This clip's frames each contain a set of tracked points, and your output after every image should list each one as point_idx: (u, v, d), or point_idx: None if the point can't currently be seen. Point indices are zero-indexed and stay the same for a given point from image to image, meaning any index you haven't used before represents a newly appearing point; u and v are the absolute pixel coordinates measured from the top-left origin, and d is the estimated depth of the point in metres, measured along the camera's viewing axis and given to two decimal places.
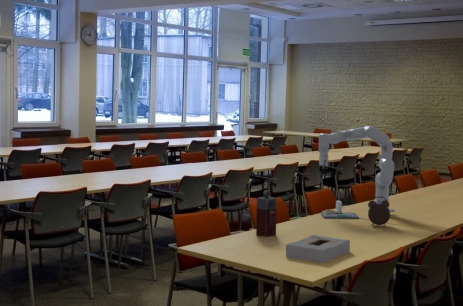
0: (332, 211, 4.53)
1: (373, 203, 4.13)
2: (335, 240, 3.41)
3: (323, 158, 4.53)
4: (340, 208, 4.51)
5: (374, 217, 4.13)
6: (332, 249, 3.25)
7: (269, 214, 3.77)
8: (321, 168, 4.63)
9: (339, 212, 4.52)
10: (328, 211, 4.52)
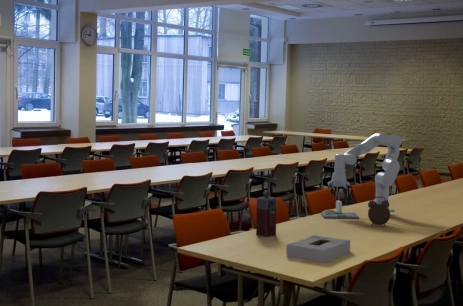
0: (332, 211, 4.53)
1: (373, 203, 4.13)
2: (336, 240, 3.41)
3: None
4: (340, 208, 4.51)
5: (374, 217, 4.13)
6: (333, 249, 3.25)
7: (269, 214, 3.77)
8: None
9: (339, 212, 4.52)
10: (328, 211, 4.52)
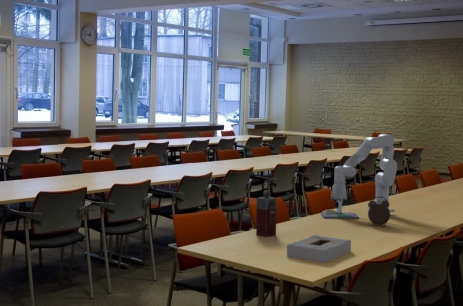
0: (332, 211, 4.53)
1: (373, 203, 4.13)
2: (336, 240, 3.41)
3: None
4: (340, 208, 4.51)
5: (374, 217, 4.13)
6: (333, 249, 3.25)
7: (269, 214, 3.77)
8: None
9: (339, 212, 4.52)
10: (328, 211, 4.52)
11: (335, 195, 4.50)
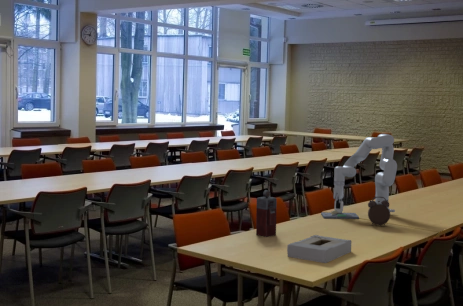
0: (335, 212, 4.50)
1: (373, 203, 4.13)
2: (337, 240, 3.41)
3: None
4: (342, 208, 4.52)
5: (374, 217, 4.13)
6: (334, 249, 3.25)
7: (269, 214, 3.77)
8: None
9: (341, 212, 4.53)
10: (333, 212, 4.48)
11: (340, 196, 4.49)
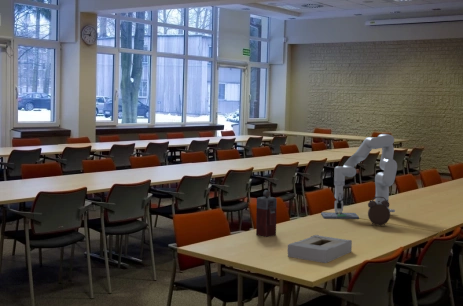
0: (339, 212, 4.49)
1: (373, 203, 4.13)
2: (337, 240, 3.41)
3: None
4: (342, 207, 4.54)
5: (374, 217, 4.13)
6: (334, 249, 3.25)
7: (269, 214, 3.77)
8: None
9: None
10: (339, 213, 4.46)
11: (342, 195, 4.50)
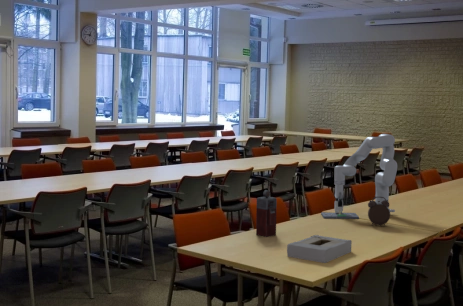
0: None
1: (373, 203, 4.13)
2: (337, 240, 3.41)
3: None
4: (342, 207, 4.54)
5: (374, 217, 4.13)
6: (333, 249, 3.25)
7: (269, 214, 3.77)
8: None
9: None
10: (340, 213, 4.46)
11: None
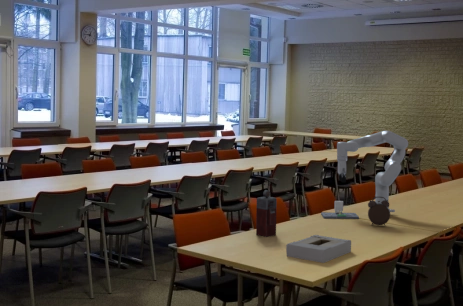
0: None
1: (373, 203, 4.13)
2: (336, 240, 3.42)
3: None
4: (342, 207, 4.54)
5: (374, 217, 4.13)
6: (332, 249, 3.25)
7: (269, 214, 3.77)
8: None
9: None
10: (340, 213, 4.46)
11: None
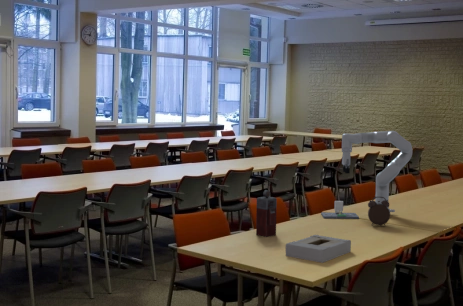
0: None
1: (373, 203, 4.13)
2: (336, 240, 3.42)
3: None
4: (342, 207, 4.54)
5: (374, 217, 4.13)
6: (331, 249, 3.26)
7: (269, 214, 3.77)
8: None
9: None
10: (340, 213, 4.46)
11: None
